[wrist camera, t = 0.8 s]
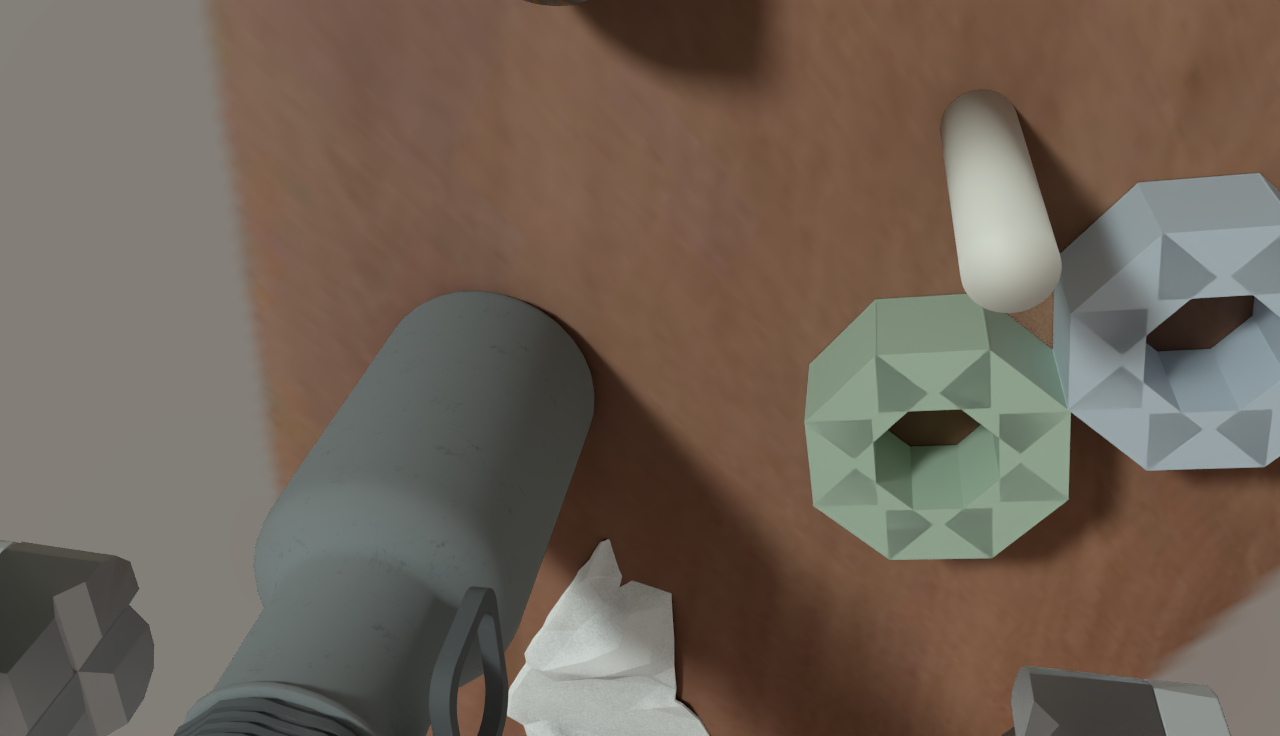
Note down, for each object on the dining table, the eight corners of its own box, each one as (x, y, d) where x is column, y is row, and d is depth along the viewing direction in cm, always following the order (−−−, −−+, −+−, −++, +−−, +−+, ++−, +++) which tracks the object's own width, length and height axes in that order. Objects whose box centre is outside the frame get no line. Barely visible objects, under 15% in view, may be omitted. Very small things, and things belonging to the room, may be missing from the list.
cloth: (498, 508, 59) (486, 537, 57) (776, 545, 57) (772, 576, 55) (511, 841, 73) (501, 874, 71) (734, 878, 71) (731, 913, 69)
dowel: (977, 74, 43) (1010, 206, 33) (1034, 121, 44) (1083, 265, 34) (924, 131, 45) (939, 275, 35) (979, 175, 45) (1010, 330, 35)
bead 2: (1202, 123, 43) (1234, 170, 39) (1390, 285, 45) (1438, 345, 41) (999, 308, 48) (1009, 365, 44) (1175, 446, 50) (1200, 512, 46)
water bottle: (601, 287, 50) (366, 855, 27) (613, 473, 56) (423, 1086, 32) (374, 278, 52) (-34, 804, 29) (405, 459, 57) (80, 1032, 34)
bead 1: (925, 249, 47) (930, 302, 43) (1107, 392, 49) (1127, 455, 45) (765, 406, 52) (757, 466, 48) (936, 530, 54) (941, 597, 50)
